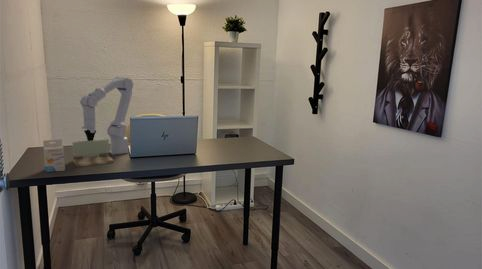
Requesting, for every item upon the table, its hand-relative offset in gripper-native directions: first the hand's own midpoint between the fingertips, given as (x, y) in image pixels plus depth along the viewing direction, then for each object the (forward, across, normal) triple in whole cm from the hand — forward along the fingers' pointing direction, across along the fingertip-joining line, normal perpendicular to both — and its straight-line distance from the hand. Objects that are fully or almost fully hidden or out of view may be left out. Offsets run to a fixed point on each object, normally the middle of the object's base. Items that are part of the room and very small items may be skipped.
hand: (90, 143), depth 193 cm
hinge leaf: (+3, +1, 0) cm, 4 cm away
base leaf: (+9, +4, 0) cm, 10 cm away
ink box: (+9, +12, -19) cm, 24 cm away
